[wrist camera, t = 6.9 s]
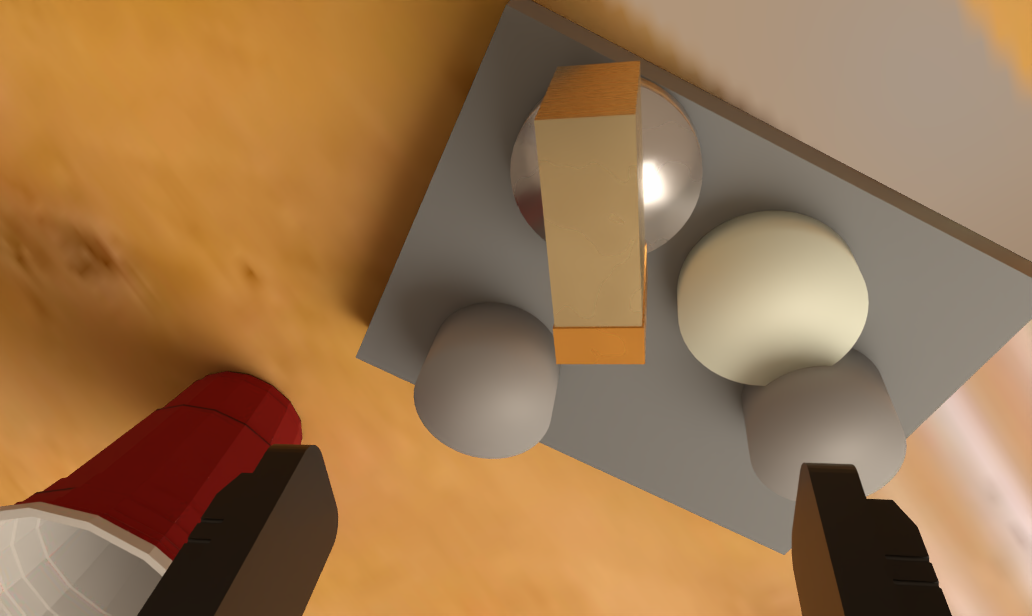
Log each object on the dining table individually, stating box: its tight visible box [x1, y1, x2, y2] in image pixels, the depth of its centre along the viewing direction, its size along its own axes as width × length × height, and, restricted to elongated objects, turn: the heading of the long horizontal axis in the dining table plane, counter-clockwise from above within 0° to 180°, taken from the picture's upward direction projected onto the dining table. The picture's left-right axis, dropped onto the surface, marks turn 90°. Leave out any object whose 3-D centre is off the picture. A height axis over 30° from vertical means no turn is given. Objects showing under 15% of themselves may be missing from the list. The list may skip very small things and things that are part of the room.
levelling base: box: [356, 0, 1032, 555], centre depth 28 cm, size 20×15×5 cm
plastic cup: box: [0, 371, 302, 616], centre depth 32 cm, size 11×11×12 cm
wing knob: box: [510, 61, 703, 364], centre depth 23 cm, size 7×6×6 cm
